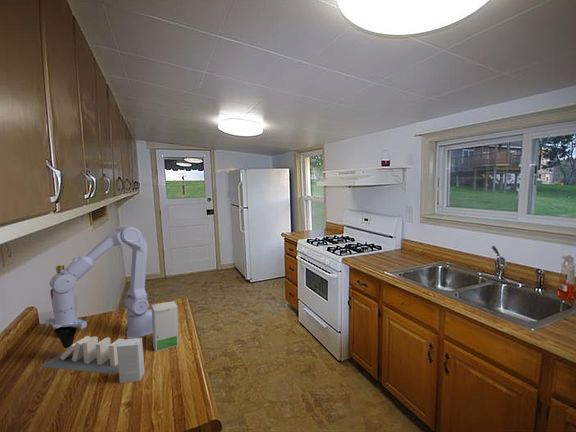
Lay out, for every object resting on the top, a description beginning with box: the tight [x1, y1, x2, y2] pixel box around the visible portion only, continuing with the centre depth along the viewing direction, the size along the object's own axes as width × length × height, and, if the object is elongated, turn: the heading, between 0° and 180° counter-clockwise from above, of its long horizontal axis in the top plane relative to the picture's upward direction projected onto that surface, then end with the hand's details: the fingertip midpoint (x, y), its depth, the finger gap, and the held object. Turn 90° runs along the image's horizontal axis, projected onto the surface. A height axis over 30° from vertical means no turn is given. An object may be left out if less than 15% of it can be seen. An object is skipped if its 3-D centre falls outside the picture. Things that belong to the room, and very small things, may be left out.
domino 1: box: [60, 340, 79, 360], centre depth 100 cm, size 2×4×7 cm
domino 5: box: [109, 338, 124, 366], centre depth 97 cm, size 2×4×7 cm, turn 170°
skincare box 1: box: [117, 337, 146, 384], centre depth 89 cm, size 6×4×12 cm
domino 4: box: [96, 337, 112, 365], centre depth 98 cm, size 2×4×7 cm, turn 170°
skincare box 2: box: [151, 301, 180, 352], centre depth 108 cm, size 8×7×16 cm
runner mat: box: [40, 350, 119, 375], centre depth 99 cm, size 28×12×1 cm, turn 80°
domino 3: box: [83, 336, 99, 363], centre depth 99 cm, size 2×4×7 cm, turn 170°
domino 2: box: [72, 335, 92, 362], centre depth 100 cm, size 2×4×7 cm, turn 170°
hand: (68, 346), depth 101 cm, fingers closed
